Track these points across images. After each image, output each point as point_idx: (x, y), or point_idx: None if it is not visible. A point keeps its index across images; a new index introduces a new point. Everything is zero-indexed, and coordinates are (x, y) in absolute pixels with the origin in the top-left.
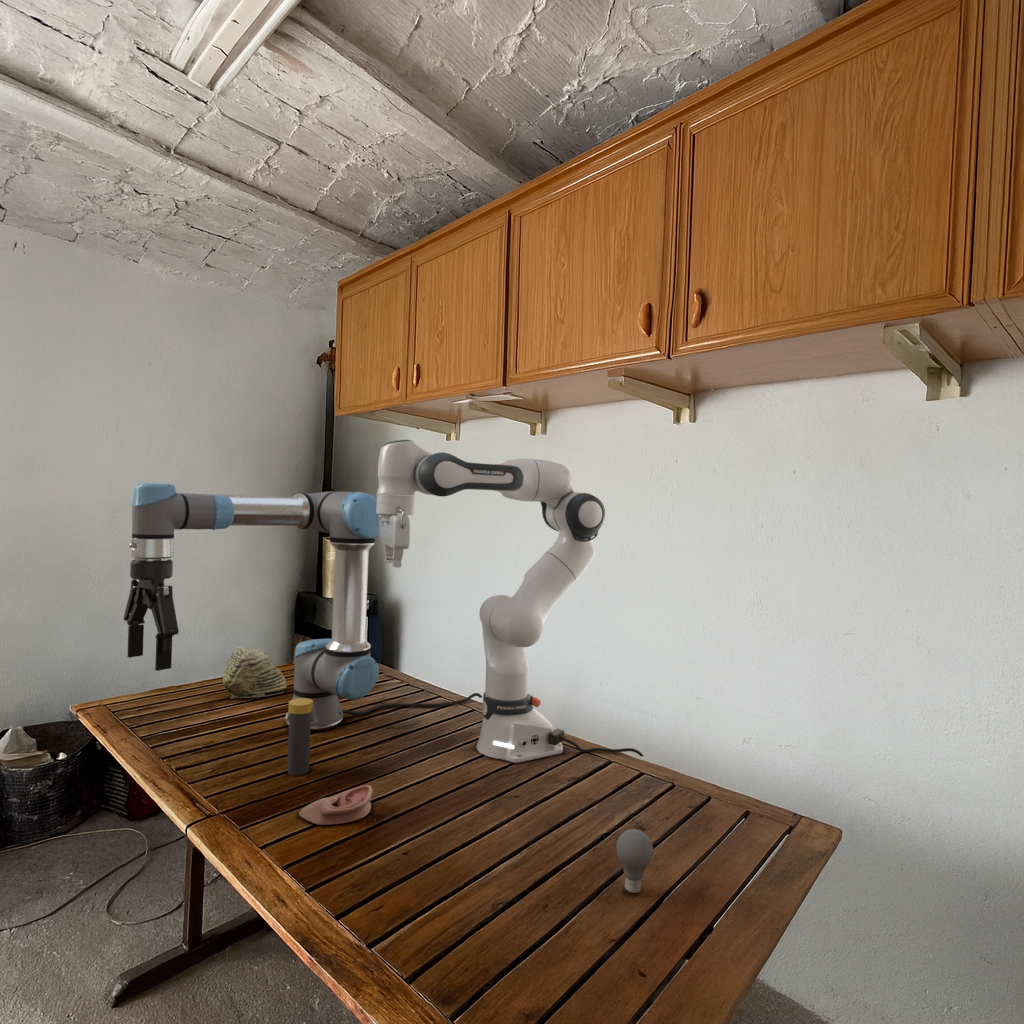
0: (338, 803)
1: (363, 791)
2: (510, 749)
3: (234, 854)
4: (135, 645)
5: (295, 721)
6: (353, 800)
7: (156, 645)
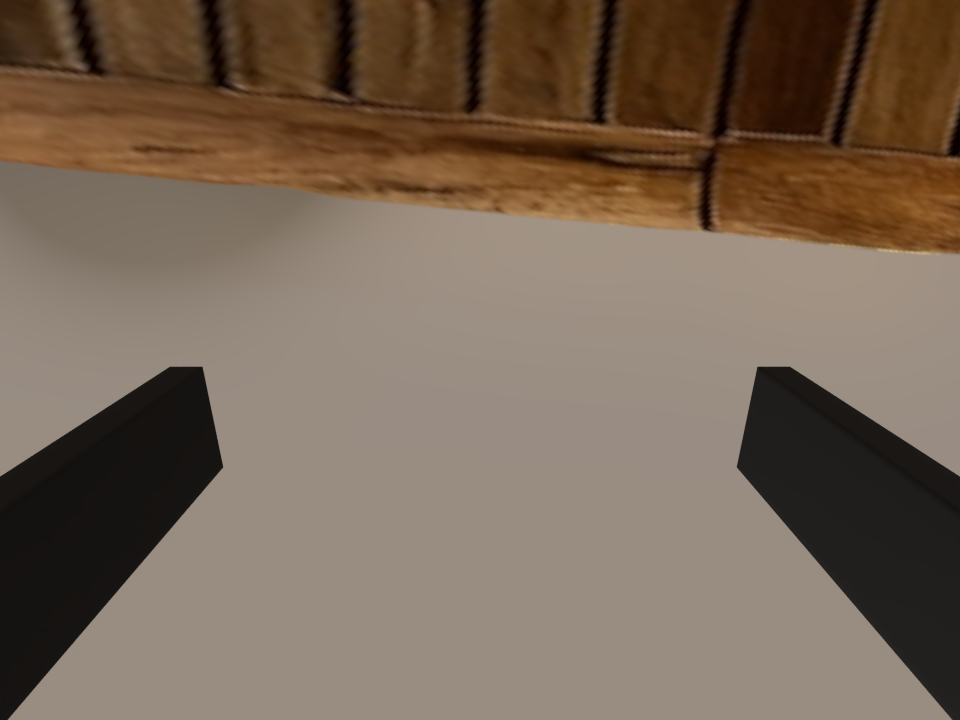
0: None
1: None
2: None
3: (916, 215)
4: (156, 480)
5: None
6: None
7: (889, 632)
